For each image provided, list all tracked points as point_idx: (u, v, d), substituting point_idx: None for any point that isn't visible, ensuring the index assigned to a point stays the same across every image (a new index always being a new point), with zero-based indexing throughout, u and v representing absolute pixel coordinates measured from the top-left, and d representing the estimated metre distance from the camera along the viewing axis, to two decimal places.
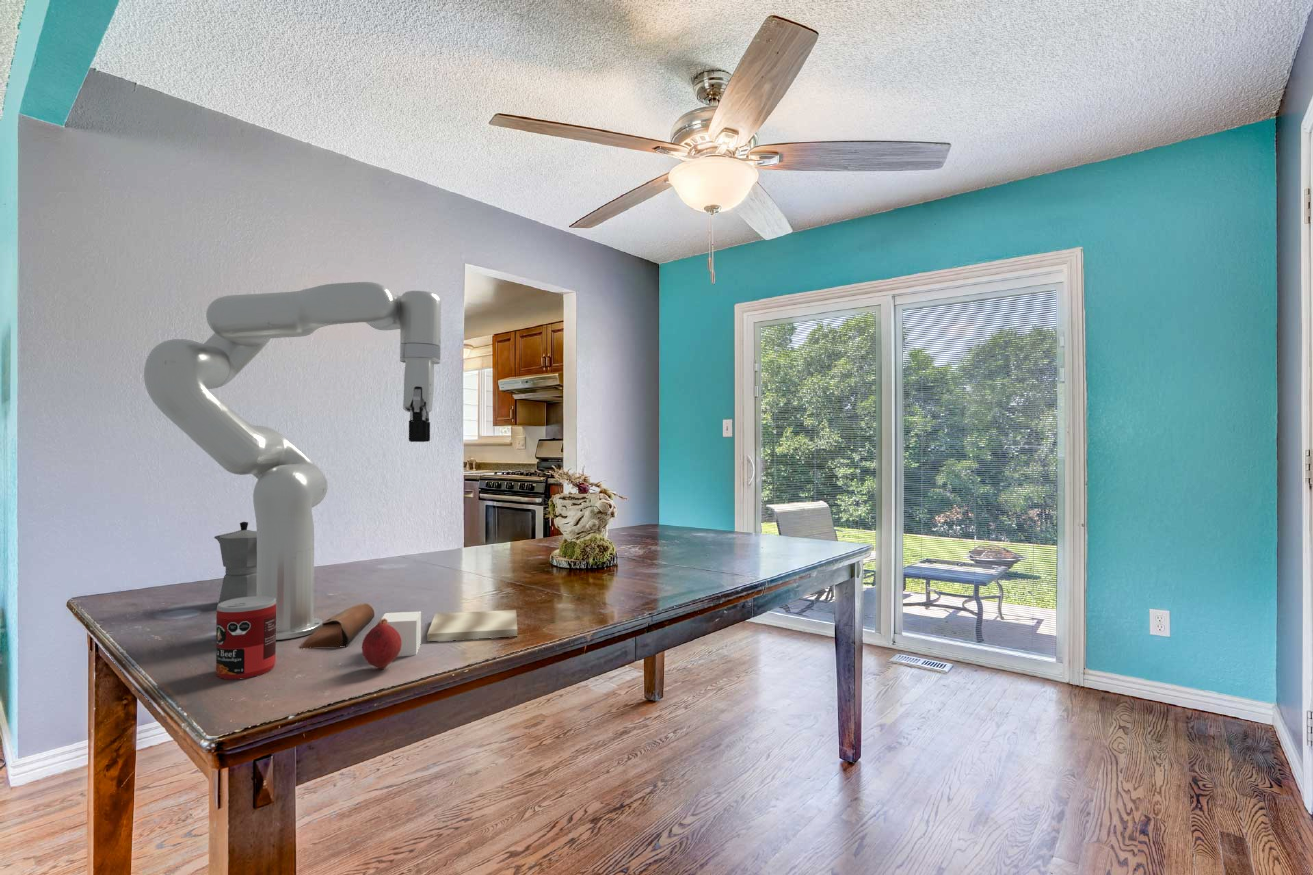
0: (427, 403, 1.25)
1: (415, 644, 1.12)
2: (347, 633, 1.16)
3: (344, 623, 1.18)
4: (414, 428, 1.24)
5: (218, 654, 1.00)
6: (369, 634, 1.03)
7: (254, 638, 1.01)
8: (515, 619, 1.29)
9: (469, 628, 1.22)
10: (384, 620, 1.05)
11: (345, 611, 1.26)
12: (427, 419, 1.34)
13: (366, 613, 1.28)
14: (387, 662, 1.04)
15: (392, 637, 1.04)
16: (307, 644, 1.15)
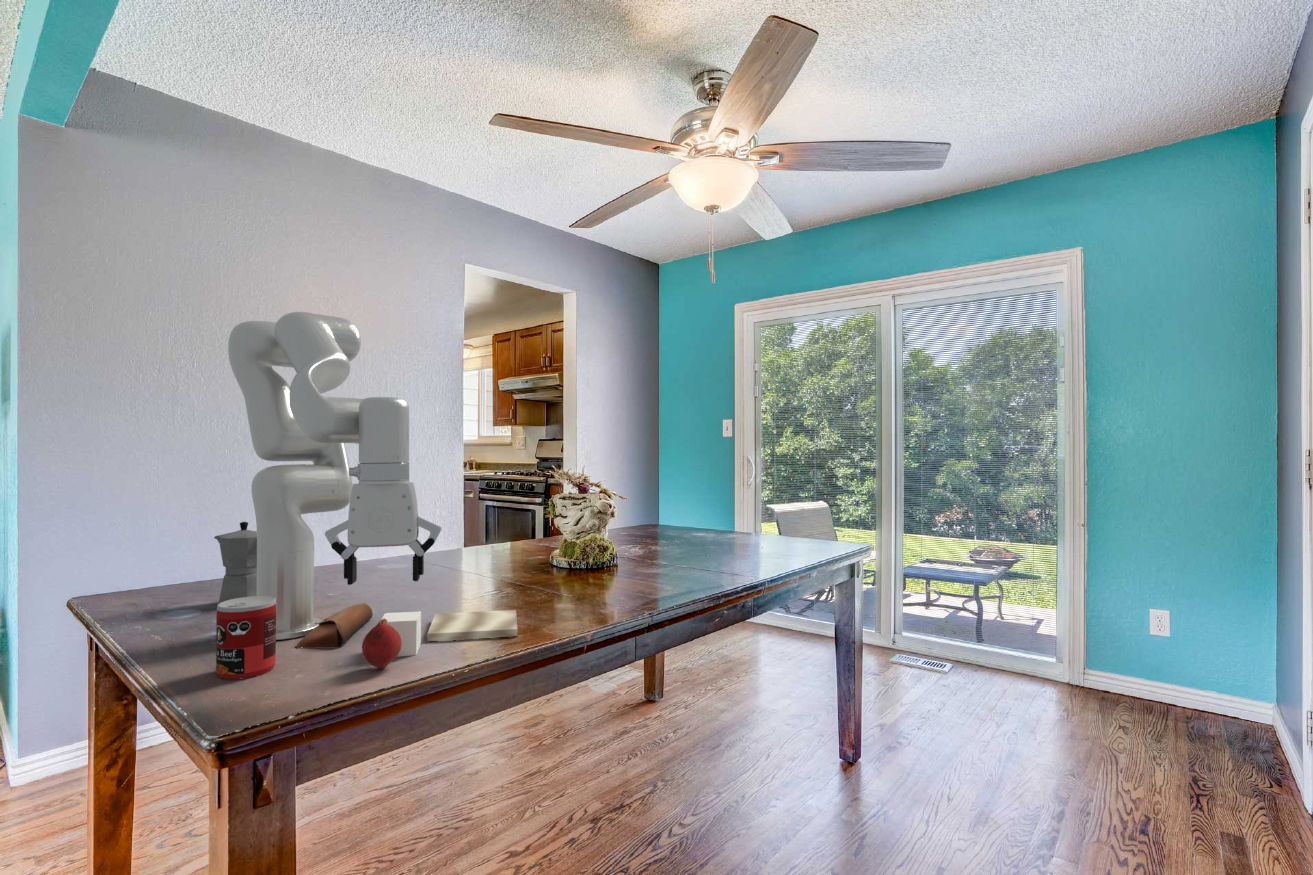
0: None
1: (415, 644, 1.12)
2: (342, 633, 1.16)
3: (340, 623, 1.18)
4: (422, 564, 1.05)
5: (218, 654, 1.00)
6: (369, 634, 1.03)
7: (254, 638, 1.01)
8: (515, 619, 1.29)
9: (469, 628, 1.22)
10: (384, 620, 1.05)
11: (342, 611, 1.26)
12: (353, 553, 1.05)
13: (363, 613, 1.28)
14: (387, 662, 1.04)
15: (392, 637, 1.04)
16: (302, 644, 1.15)
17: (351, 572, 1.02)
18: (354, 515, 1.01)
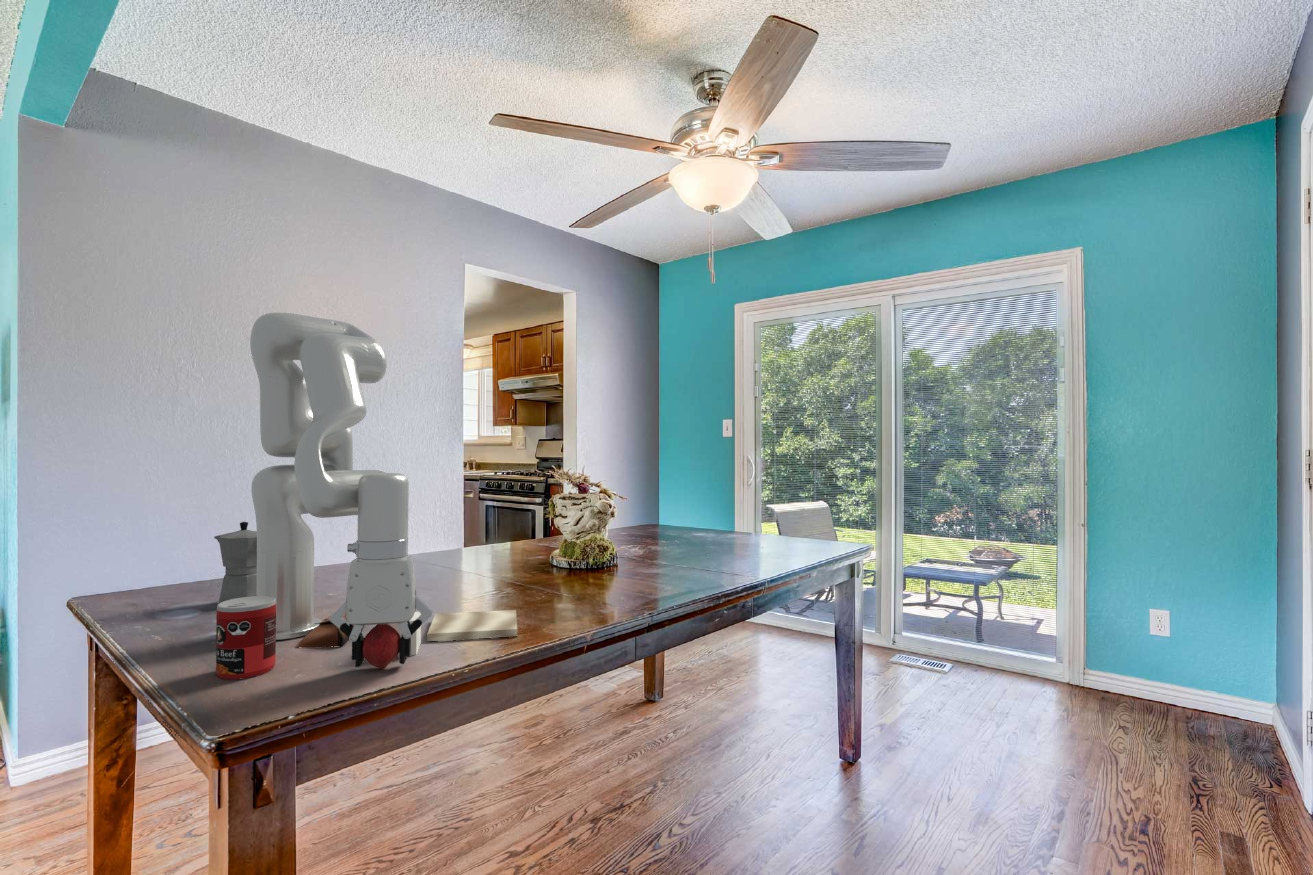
0: None
1: (415, 644, 1.12)
2: (342, 633, 1.16)
3: None
4: (409, 646, 1.05)
5: (218, 654, 1.00)
6: (369, 634, 1.03)
7: (254, 638, 1.01)
8: (515, 619, 1.29)
9: (469, 628, 1.22)
10: None
11: None
12: (361, 633, 1.05)
13: None
14: (387, 662, 1.04)
15: (392, 637, 1.04)
16: (303, 644, 1.15)
17: (359, 654, 1.03)
18: (352, 593, 1.01)
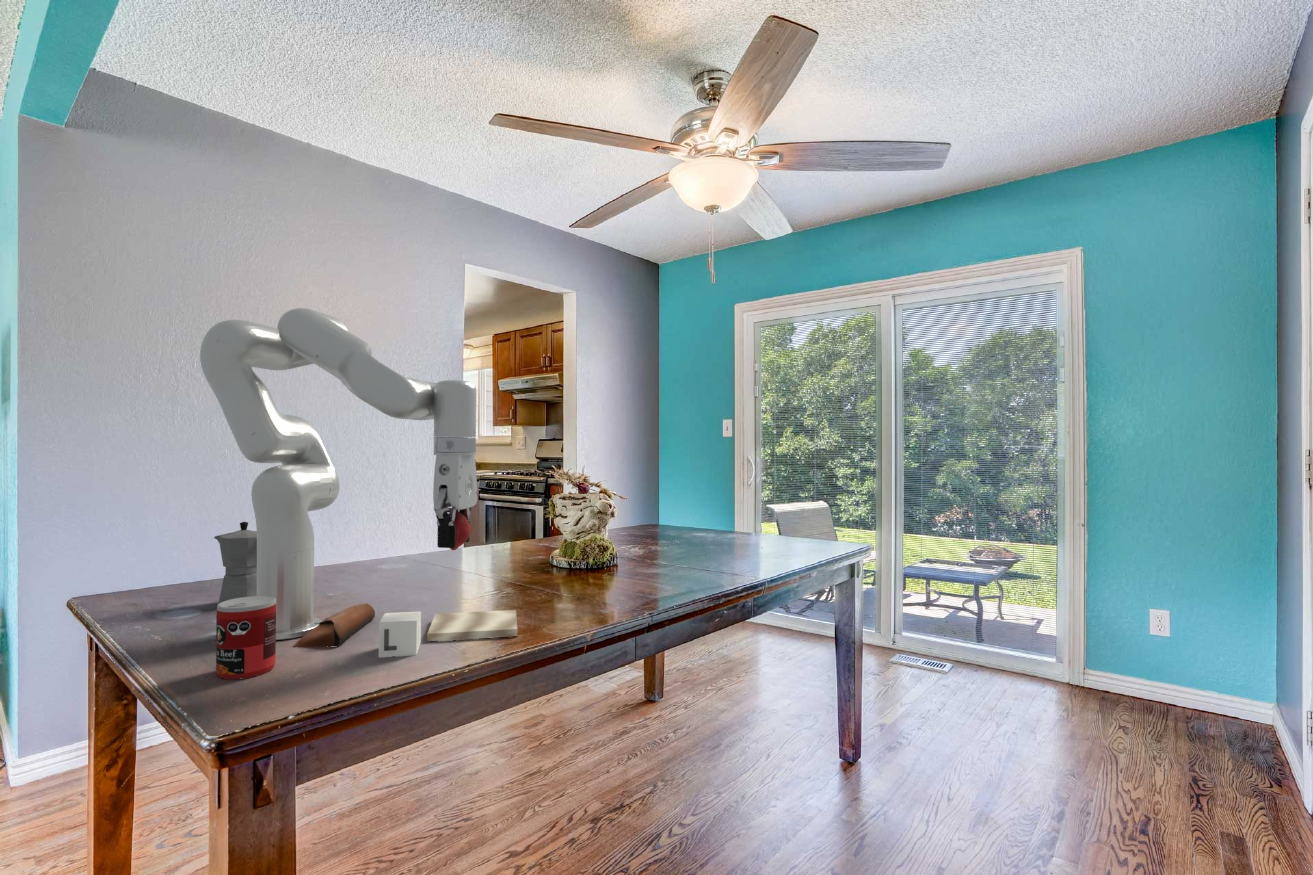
0: None
1: (415, 644, 1.12)
2: (339, 633, 1.16)
3: (338, 623, 1.18)
4: None
5: (218, 654, 1.00)
6: (457, 519, 1.19)
7: (254, 638, 1.01)
8: (515, 619, 1.29)
9: (469, 628, 1.22)
10: None
11: (343, 611, 1.26)
12: None
13: (364, 613, 1.28)
14: None
15: None
16: (301, 643, 1.16)
17: (455, 536, 1.18)
18: (460, 482, 1.17)
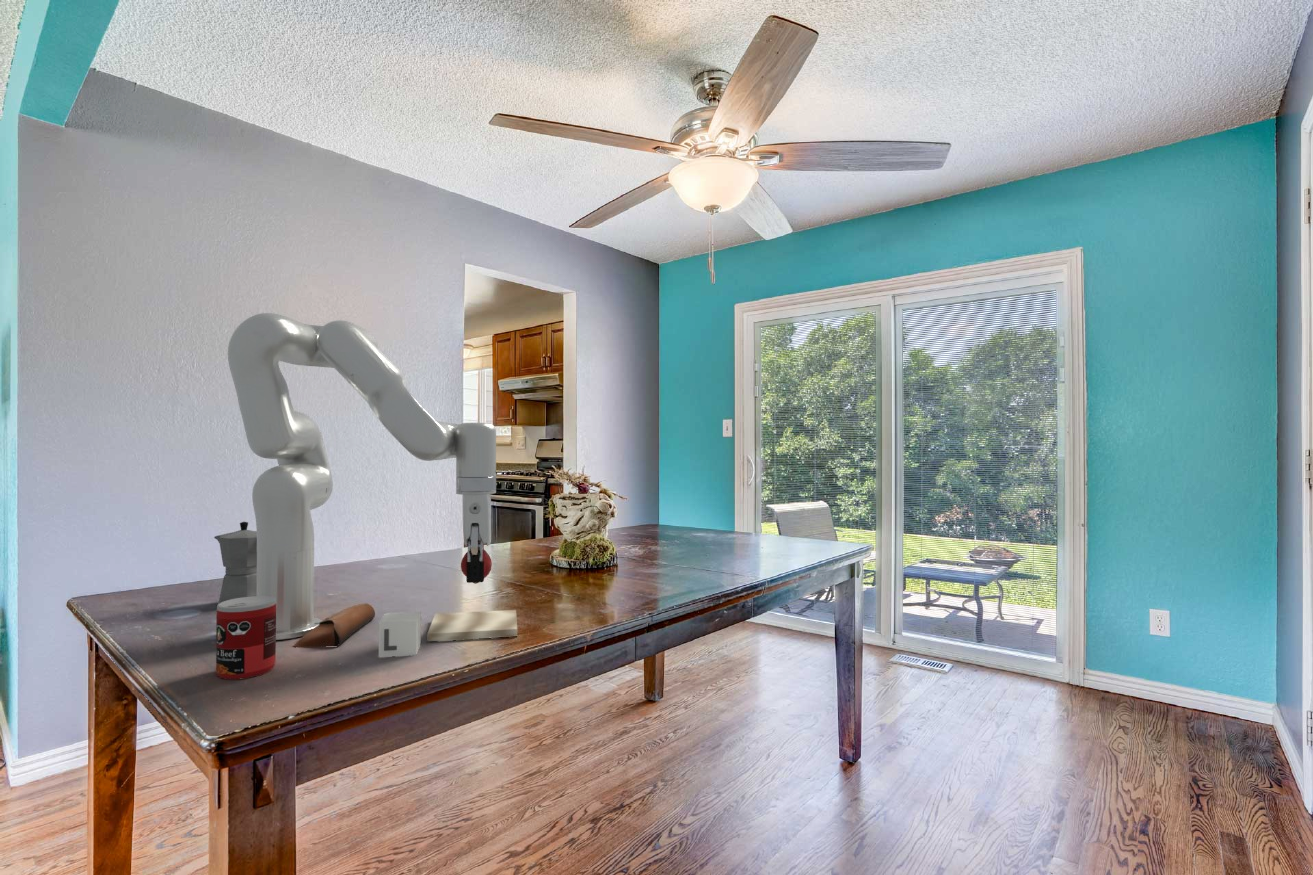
0: None
1: (415, 644, 1.12)
2: (339, 633, 1.16)
3: (338, 623, 1.18)
4: None
5: (218, 654, 1.00)
6: None
7: (254, 638, 1.01)
8: (515, 619, 1.29)
9: (469, 628, 1.22)
10: None
11: (343, 611, 1.26)
12: None
13: (364, 613, 1.28)
14: None
15: None
16: (301, 643, 1.16)
17: (483, 571, 1.25)
18: (489, 519, 1.24)
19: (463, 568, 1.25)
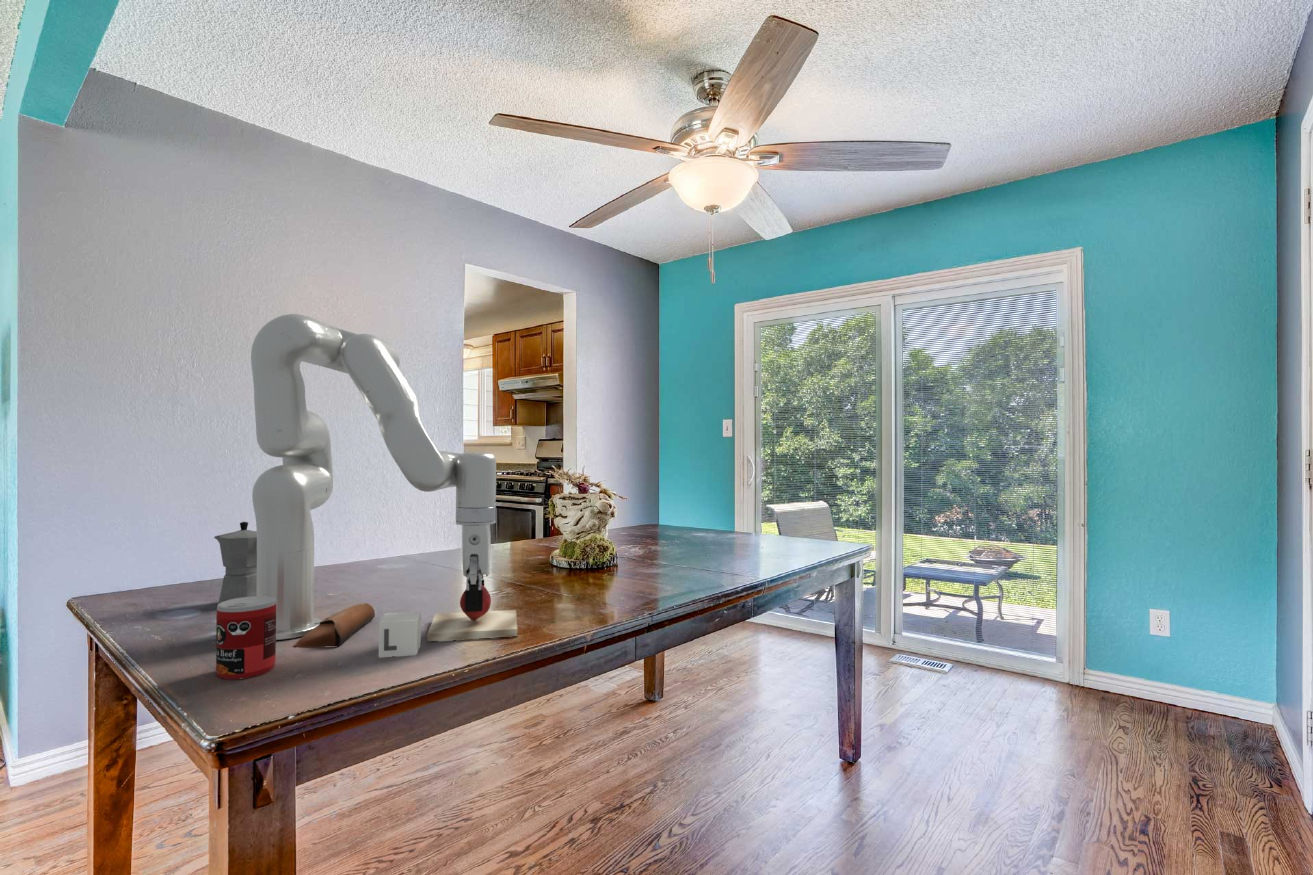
0: None
1: (415, 644, 1.12)
2: (340, 633, 1.16)
3: (339, 623, 1.19)
4: None
5: (218, 654, 1.00)
6: None
7: (254, 638, 1.01)
8: (515, 619, 1.29)
9: (469, 628, 1.22)
10: None
11: (343, 610, 1.26)
12: None
13: (364, 612, 1.28)
14: None
15: None
16: (301, 643, 1.16)
17: None
18: (488, 550, 1.24)
19: (462, 605, 1.25)
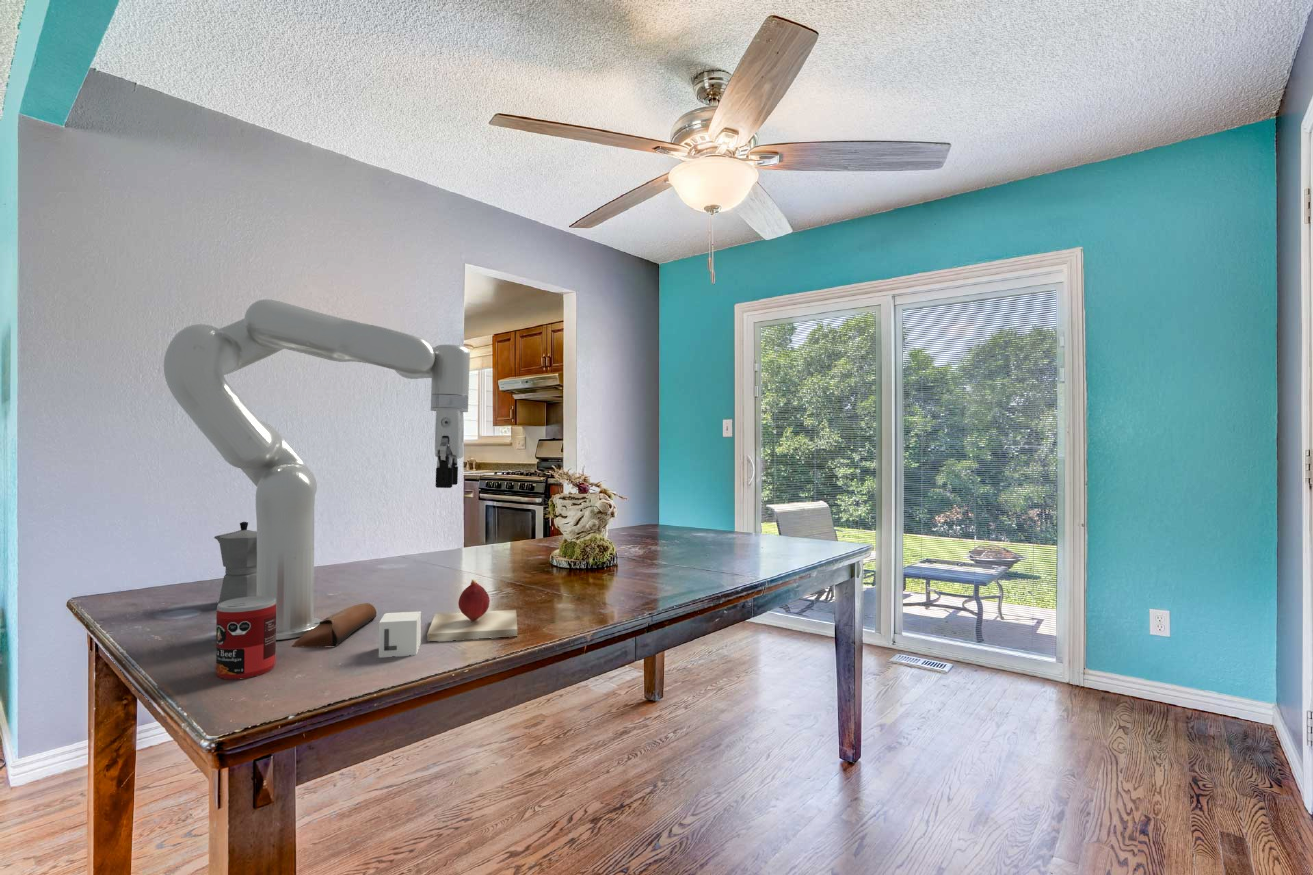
0: None
1: (415, 644, 1.12)
2: (337, 633, 1.16)
3: (337, 623, 1.19)
4: None
5: (218, 654, 1.00)
6: (480, 592, 1.26)
7: (254, 638, 1.01)
8: (515, 619, 1.29)
9: (469, 628, 1.22)
10: (474, 580, 1.28)
11: (344, 610, 1.27)
12: None
13: (364, 612, 1.28)
14: None
15: None
16: (299, 642, 1.16)
17: (452, 478, 1.33)
18: (459, 434, 1.34)
19: (461, 606, 1.25)
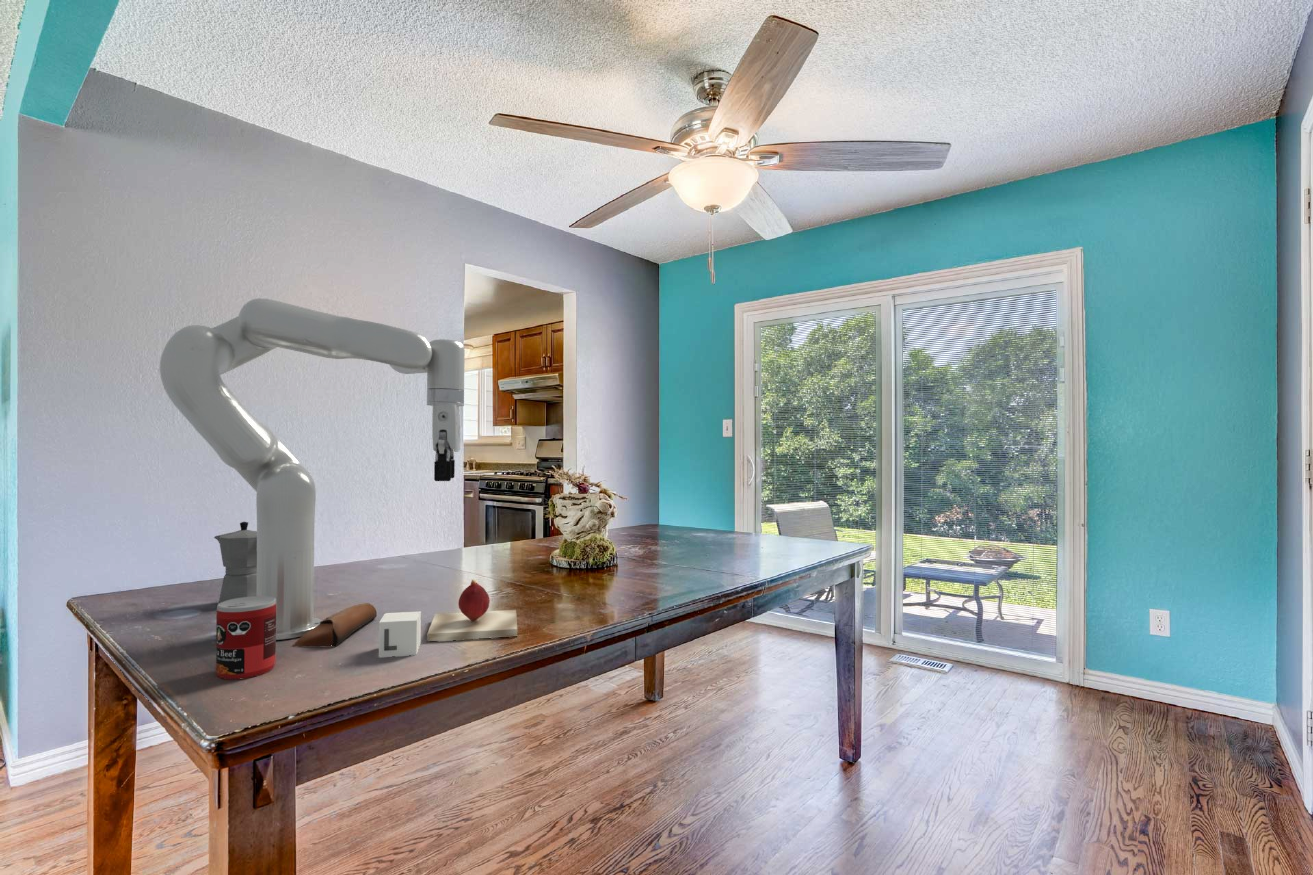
0: None
1: (415, 644, 1.12)
2: (338, 633, 1.16)
3: (337, 623, 1.19)
4: None
5: (218, 654, 1.00)
6: (480, 592, 1.26)
7: (254, 638, 1.01)
8: (515, 619, 1.29)
9: (469, 628, 1.22)
10: (474, 580, 1.28)
11: (344, 610, 1.27)
12: None
13: (365, 612, 1.28)
14: None
15: None
16: (300, 642, 1.16)
17: (450, 471, 1.34)
18: (456, 427, 1.35)
19: (461, 606, 1.25)
